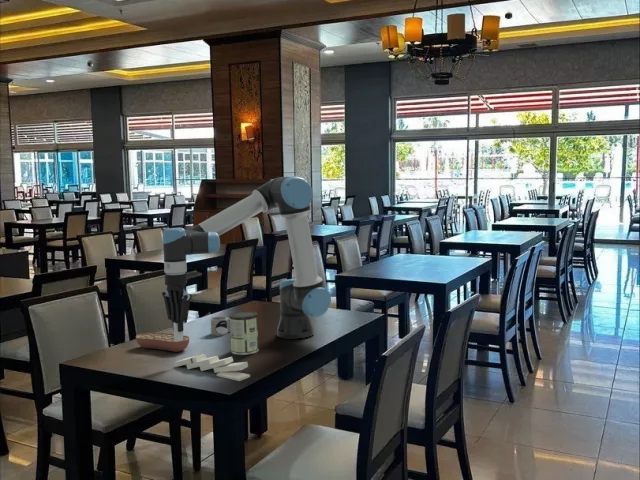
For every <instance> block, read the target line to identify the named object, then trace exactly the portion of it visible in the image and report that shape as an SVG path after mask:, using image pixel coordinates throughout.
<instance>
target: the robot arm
mask: <svg viewBox="0 0 640 480" xmlns="http://www.w3.org/2000/svg"><path fill="white" fill-rule="evenodd" d="M313 195H314V193H313V188H312V185H311V184H310V183H309V182H308V181H307V180H306V179H304V178H303V177H300V176H295V175H294V176H293V175H292V176H278V177H275V178H273V179H271V180H269V181H267V182H266V183H264V184H262V185H261V186H259V187H257V188H256V189H254V190H252V193H251V194H250V195H248V196H247V197H245V198H243V199H241V200H239V201H238V202H236V203H235V204H233V205H230V206H228V207H227V208H225V209H223V210H221V211H220V212H218V213H216V214H215V215H213V216H210V217H209V218H207V219H205V220H204V221H202V222H200V223H198V224H197V225H195V226H193V227H191V228H189V229H185V228H182V227H171V228H165V229H164V230H163V232H162V246H163V247H162V249H163V252H162V253H163V265H164V267H163V268H164V273H165V274H164V284H165V286H166V290H165V291H163V292H161V295H162V297H163V299H164V304H165V310H166V315H167V319H168V320H169V321H171V322H172V331H173V334H174V341H176V342H178V341H182V340H183V335H184V322H186V321H188V318H189V310H190V302H191V299H192V297H193V296H192V294H191V293H190V294H189V293H188V292H187V288H186V286H187V285H186V284H187V283H188V275H187V271H188V270H187V269H188V267H187V266H188V265H187V256H191V255H202V254H203V255H204V254H206V255H207V254H209V255H210V254H215V253H217V252H219V250H220V248H221V240H220V236H222V235H223V234H225V233H227V232H229V231H230V230H233V229H234V228H235V227H238V226H239V225H241V224H243V223H245V222H246V221H248V220H249V219H251V218H253V217H255V216H256V215H258V214H260V213H261V212H263V213H266V212H268V211H270V210H273V209H277V208H278V211H279V215H280V216H281V217H282V218H283V219H284V220H285V221H284V222H285V225H286V226H285V228H286V231H287V237H288V242H289V243H288V244H289V248H290V253H291V254H290V255H291V259H292V265H293V269H294V276H295V278H290V279H283V280H281V281H280V283H279V290H278V291H279V307H280V318H279V322H278V326H277V329H276V336H277V337H278V338H280V339H286V340H299V339H298V338H302V339H306V338H305V337H308V338H310V337H309V336H311V337H313V336H314V335H315V328H314V326H313V323H312V320H311V318H312V317H313V318H319V317H321V316H323V315H324V314H325V313H327V311H328V310H329V309H330V307H331V303H332V297H331V294H330V292H329V290H328V289H327V288H326V287H325V285H324V280H323V278H322V277H321V276H320V275H318V269H317V262H316V258H315V252H314V251H315V250H314V247H313V240H312V235H311V230H310V229H311V228H310V223H309V219H308V218H309V217H308V215H309V212H310V211H311V205H310V204H311V203H312V200H313V197H314V196H313ZM313 334H314V335H313ZM312 335H313V336H312Z"/></svg>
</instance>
